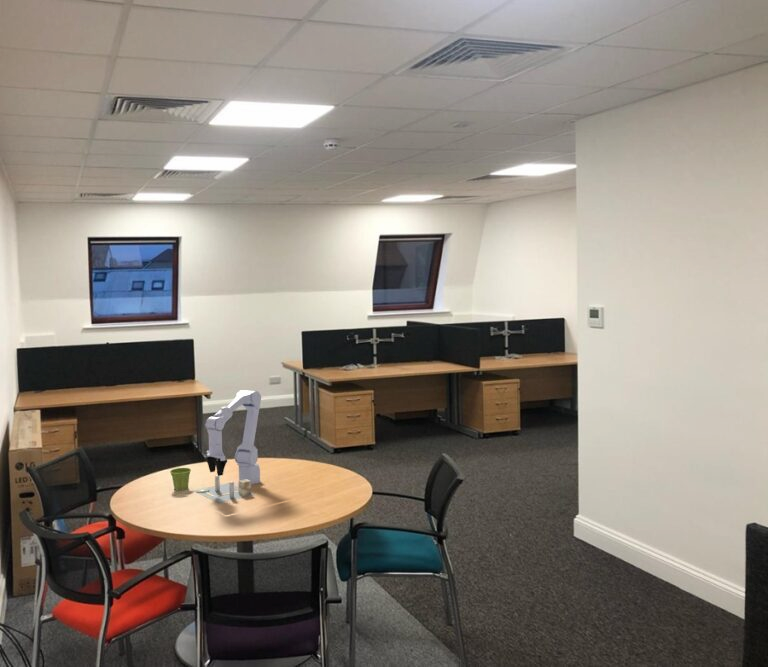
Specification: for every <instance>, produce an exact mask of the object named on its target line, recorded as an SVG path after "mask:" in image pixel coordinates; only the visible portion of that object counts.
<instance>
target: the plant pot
mask: <svg viewBox="0 0 768 667" xmlns="http://www.w3.org/2000/svg"><path fill="white" fill-rule="evenodd" d="M191 471H192V469H191V468H189V467H177V468H173V469H170V471H169V473H170V475H171V477H172V483H173V488H174V490H175V491H178V490H179V491H184V490H187V489H189V482H190V474H191Z"/></svg>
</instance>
